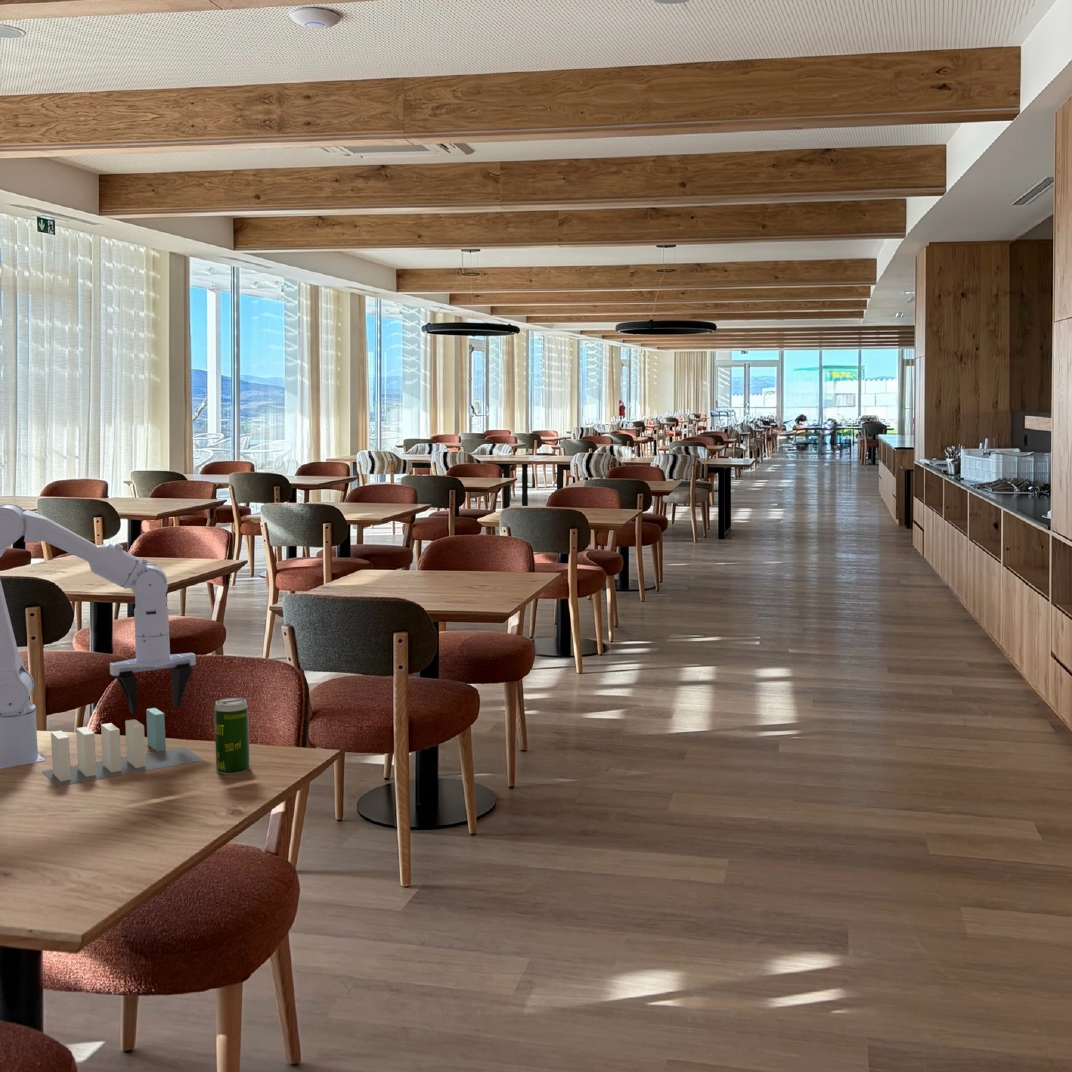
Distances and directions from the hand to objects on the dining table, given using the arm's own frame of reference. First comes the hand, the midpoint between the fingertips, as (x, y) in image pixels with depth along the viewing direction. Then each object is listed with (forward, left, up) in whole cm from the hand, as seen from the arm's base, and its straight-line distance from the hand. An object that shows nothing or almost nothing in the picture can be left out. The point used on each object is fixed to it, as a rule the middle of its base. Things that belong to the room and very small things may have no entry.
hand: (155, 709), depth 207 cm
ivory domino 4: (+8, -6, -7) cm, 12 cm away
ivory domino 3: (+8, -10, -7) cm, 15 cm away
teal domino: (0, 0, -7) cm, 7 cm away
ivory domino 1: (+8, -18, -7) cm, 21 cm away
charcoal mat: (+8, -8, -7) cm, 13 cm away
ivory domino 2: (+8, -14, -7) cm, 18 cm away
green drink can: (+21, +6, -7) cm, 23 cm away
